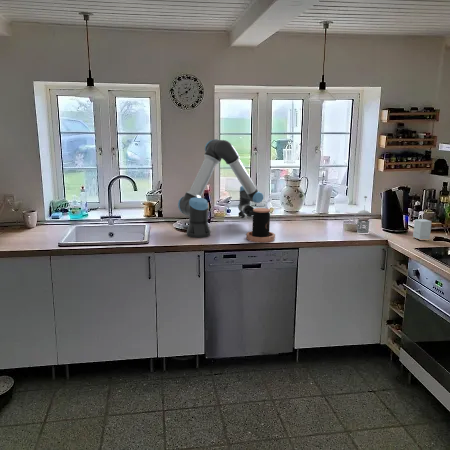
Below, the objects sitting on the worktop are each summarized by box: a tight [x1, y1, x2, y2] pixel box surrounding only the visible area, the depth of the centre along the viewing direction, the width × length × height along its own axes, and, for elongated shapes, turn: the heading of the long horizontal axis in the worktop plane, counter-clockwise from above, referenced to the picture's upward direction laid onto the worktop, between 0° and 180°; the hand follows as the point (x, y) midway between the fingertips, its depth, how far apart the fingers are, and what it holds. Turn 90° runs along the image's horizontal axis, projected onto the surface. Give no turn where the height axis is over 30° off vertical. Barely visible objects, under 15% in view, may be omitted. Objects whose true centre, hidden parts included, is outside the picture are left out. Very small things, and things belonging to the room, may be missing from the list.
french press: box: [352, 195, 371, 233], centre depth 290 cm, size 10×12×25 cm
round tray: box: [245, 230, 276, 243], centre depth 272 cm, size 17×17×3 cm
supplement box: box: [412, 218, 433, 240], centre depth 275 cm, size 7×7×13 cm
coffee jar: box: [251, 207, 271, 237], centre depth 270 cm, size 11×11×18 cm
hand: (256, 217), depth 279 cm, fingers open, 13 cm apart
